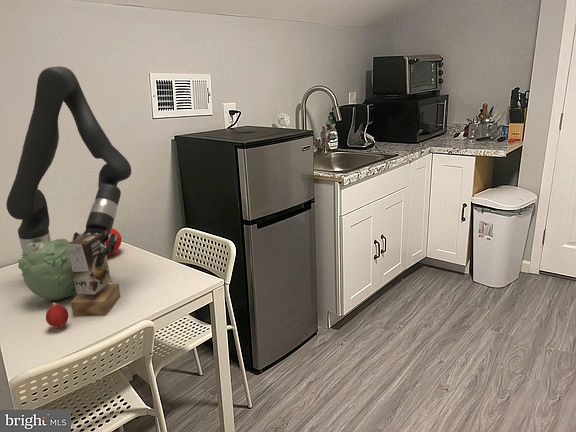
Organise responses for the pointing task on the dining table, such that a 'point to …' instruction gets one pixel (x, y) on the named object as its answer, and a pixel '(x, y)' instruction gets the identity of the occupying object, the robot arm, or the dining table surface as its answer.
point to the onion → (57, 315)
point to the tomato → (117, 241)
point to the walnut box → (96, 302)
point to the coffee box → (88, 264)
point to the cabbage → (48, 269)
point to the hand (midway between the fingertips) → (87, 265)
